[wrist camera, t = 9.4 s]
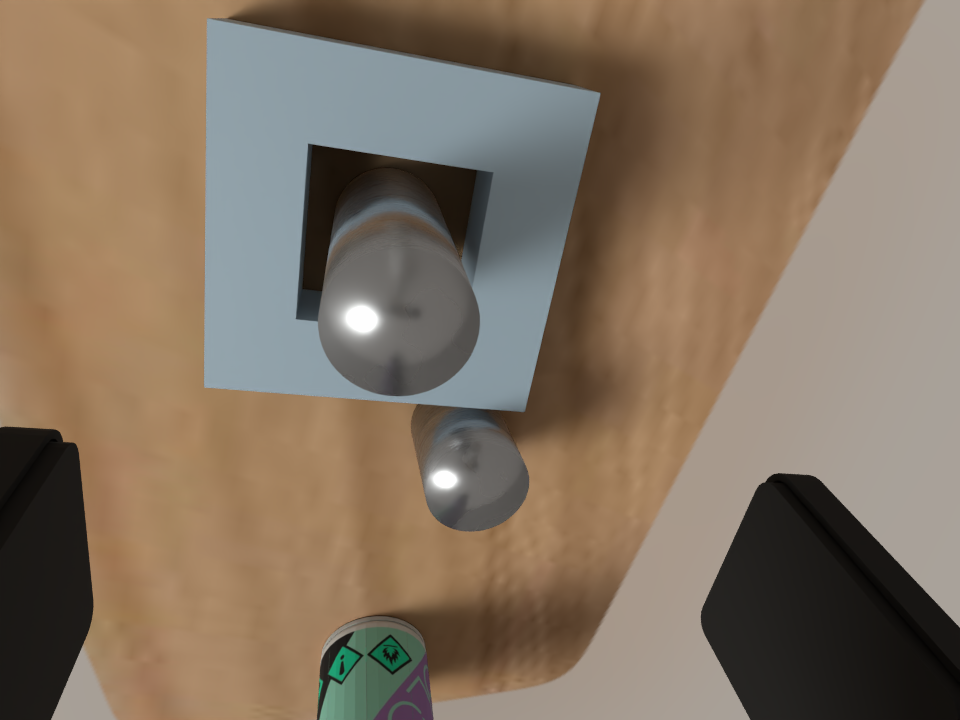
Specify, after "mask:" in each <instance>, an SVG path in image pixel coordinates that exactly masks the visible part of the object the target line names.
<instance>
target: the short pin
mask: <svg viewBox="0 0 960 720" xmlns="http://www.w3.org/2000/svg"><path fill="white" fill-rule="evenodd" d="M411 432H412V437H413V442H414V446H415V451H416V455H417V460H418V465H419V469H420V474H421V478H422V483H423V487H424V492H425V497H426V501H427V505H428V507H429V509H430V511H431V513H432V514H433V516H434V517H435V518H436V519H437V520H438V521H439V522H441V523H442V524H444V525H445V526H447V527H450V528H452V529H456V530H460V531H481V530H485V529H489V528H492V527H494V526H497V525H499V524H501V523H503V522H504V521H506V520H507V519H509V518H510V517H511V516H512V515H513V514H514V513H515V512H516V511H517V510H518V509H519V508H520V506H521V505H522V503H523V502H524V500H525V498H526V495H527V492H528V488H529V475H528V471H527V468H526V465H525V463H524V461H523V459H522V457H521V455H520V453H519V451H518V448H517V446H516V444H515V442H514V440H513V438H512V436H511V434H510V431H509V429H508V427H507V425H506V423H505V421H504V419H503V417H502V414H501V412H500V410H491V409H479V408H466V407H453V406H440V405H427V404H418V405H417V406H416V408H415V410H414V412H413V416H412V420H411Z"/></svg>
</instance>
